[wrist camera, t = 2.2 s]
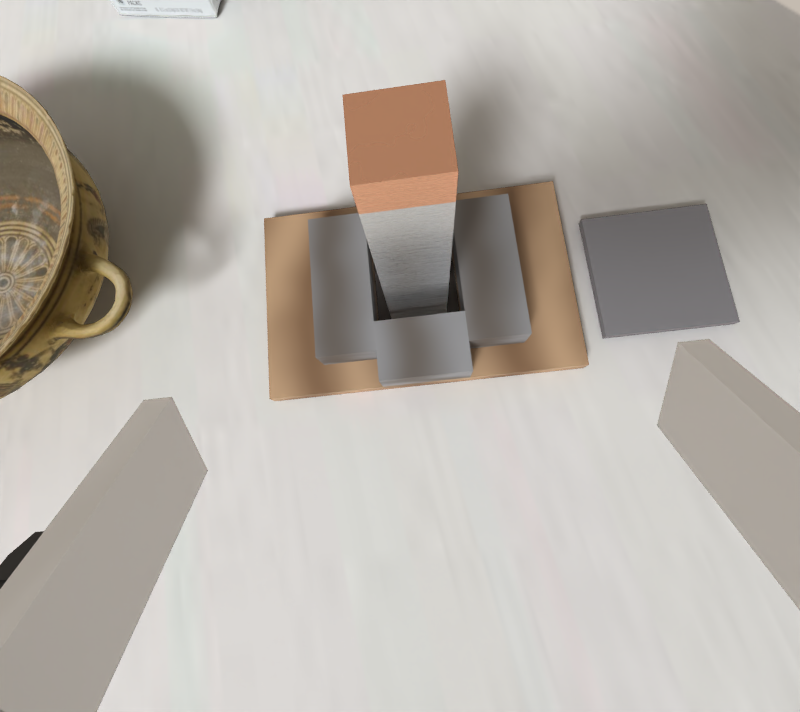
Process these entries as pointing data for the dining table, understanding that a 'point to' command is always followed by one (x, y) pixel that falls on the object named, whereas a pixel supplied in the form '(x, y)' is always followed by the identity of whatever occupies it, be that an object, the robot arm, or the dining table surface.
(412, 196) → the grey orange-ended block
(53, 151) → the ceramic bowl
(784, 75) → the dining table surface
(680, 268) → the pad
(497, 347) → the board
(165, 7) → the tea box
